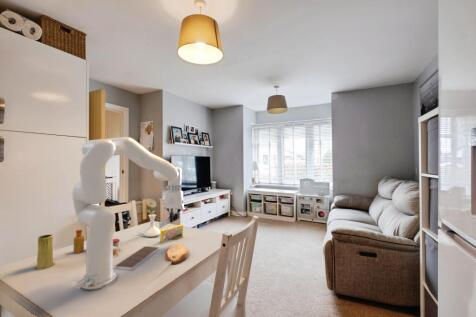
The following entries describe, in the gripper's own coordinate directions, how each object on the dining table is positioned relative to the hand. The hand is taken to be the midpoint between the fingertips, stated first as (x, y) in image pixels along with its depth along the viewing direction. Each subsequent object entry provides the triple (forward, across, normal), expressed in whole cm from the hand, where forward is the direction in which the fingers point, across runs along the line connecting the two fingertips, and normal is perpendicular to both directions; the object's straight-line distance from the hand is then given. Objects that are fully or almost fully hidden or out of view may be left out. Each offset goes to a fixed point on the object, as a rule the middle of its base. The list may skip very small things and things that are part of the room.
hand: (174, 219), depth 128 cm
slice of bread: (+17, +5, -8) cm, 19 cm away
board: (+17, -12, -15) cm, 25 cm away
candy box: (+17, -7, +12) cm, 22 cm away
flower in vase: (+17, -25, +18) cm, 35 cm away
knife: (0, 0, -6) cm, 6 cm away
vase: (+17, -51, -31) cm, 62 cm away
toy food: (+17, -38, -12) cm, 43 cm away
